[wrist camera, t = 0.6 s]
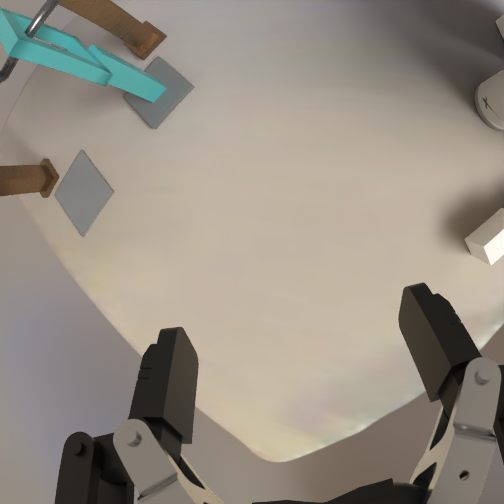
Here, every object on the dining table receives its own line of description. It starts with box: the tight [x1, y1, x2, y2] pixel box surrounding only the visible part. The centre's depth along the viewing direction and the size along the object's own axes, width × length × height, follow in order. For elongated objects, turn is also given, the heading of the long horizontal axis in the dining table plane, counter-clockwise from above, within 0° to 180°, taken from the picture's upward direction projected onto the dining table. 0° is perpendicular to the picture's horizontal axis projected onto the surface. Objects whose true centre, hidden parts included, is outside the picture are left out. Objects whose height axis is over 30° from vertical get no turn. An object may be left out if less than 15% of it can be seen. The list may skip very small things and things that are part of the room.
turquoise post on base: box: [0, 7, 194, 129], centre depth 21 cm, size 8×7×24 cm
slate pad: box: [55, 150, 114, 237], centre depth 38 cm, size 9×9×1 cm
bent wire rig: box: [0, 0, 167, 198], centre depth 23 cm, size 30×11×26 cm, turn 133°
